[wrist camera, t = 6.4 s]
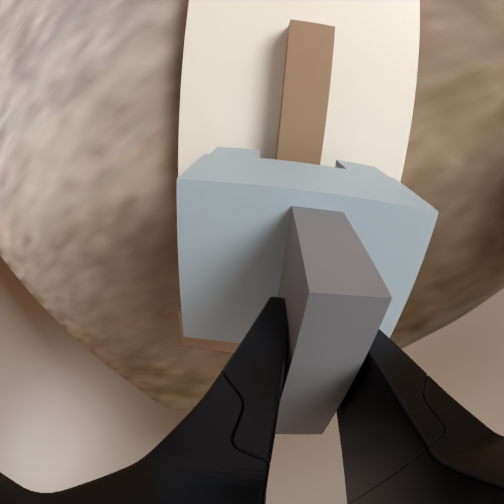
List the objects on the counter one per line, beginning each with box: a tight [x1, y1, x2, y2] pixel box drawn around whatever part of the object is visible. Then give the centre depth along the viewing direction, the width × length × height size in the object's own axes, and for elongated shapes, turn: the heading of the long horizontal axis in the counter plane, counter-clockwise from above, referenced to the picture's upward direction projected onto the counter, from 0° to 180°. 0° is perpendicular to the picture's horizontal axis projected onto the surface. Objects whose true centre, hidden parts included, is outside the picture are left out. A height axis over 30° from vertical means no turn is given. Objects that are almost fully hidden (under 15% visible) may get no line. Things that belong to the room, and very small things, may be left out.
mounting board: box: [177, 0, 420, 353], centre depth 12 cm, size 12×26×6 cm, turn 175°
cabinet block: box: [177, 147, 439, 434], centre depth 10 cm, size 8×6×10 cm
